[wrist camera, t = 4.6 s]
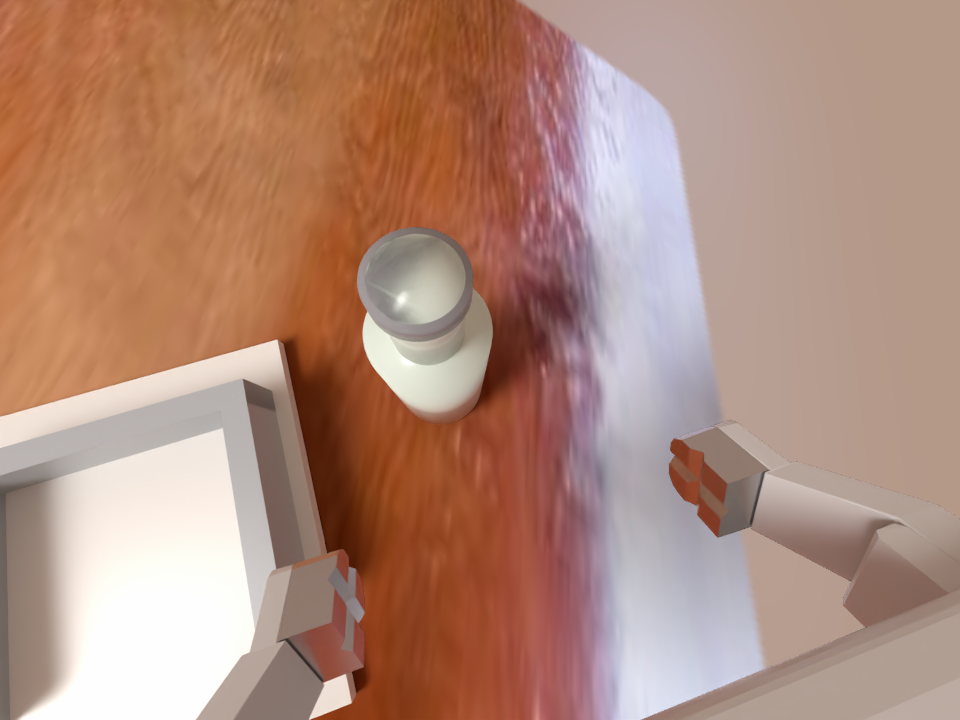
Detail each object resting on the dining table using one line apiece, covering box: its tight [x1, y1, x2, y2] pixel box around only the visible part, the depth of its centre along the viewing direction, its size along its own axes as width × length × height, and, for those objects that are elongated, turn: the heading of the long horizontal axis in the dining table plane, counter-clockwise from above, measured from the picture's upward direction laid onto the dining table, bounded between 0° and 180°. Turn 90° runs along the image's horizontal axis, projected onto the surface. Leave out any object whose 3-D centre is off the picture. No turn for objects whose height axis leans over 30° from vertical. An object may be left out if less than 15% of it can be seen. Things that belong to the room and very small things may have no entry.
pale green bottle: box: [357, 227, 493, 424], centre depth 17 cm, size 5×5×13 cm
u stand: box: [0, 340, 356, 720], centre depth 18 cm, size 18×16×4 cm
